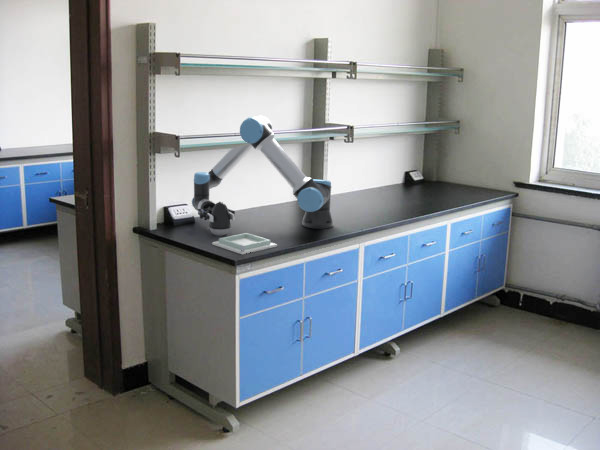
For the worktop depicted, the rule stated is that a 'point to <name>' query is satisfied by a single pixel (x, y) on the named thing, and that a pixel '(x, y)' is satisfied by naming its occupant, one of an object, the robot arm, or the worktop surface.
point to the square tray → (244, 243)
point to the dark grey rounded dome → (220, 220)
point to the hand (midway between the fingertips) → (223, 218)
